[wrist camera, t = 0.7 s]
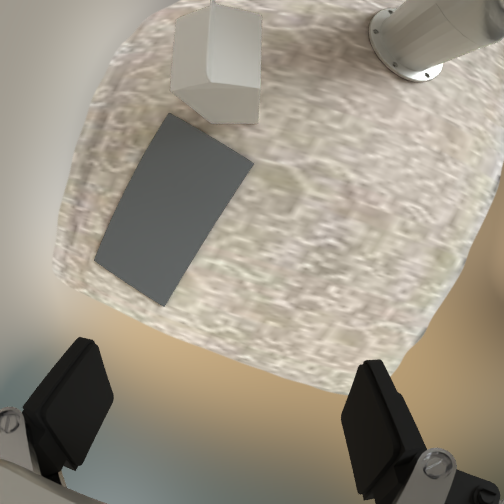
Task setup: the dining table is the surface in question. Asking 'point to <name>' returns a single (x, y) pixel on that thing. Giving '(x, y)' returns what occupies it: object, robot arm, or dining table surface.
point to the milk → (219, 63)
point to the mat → (170, 208)
